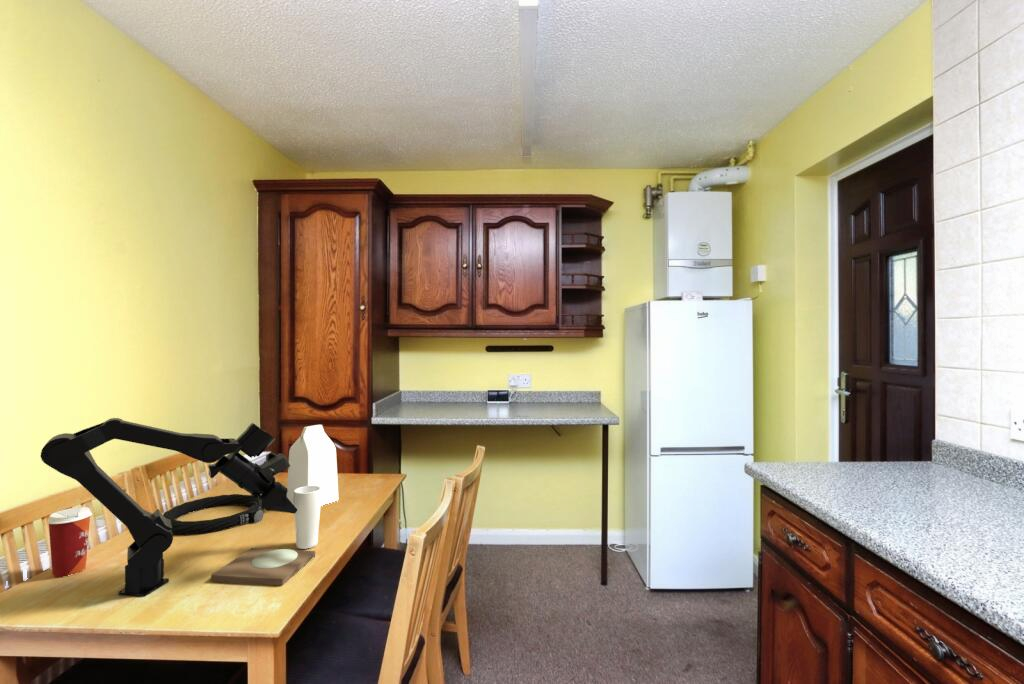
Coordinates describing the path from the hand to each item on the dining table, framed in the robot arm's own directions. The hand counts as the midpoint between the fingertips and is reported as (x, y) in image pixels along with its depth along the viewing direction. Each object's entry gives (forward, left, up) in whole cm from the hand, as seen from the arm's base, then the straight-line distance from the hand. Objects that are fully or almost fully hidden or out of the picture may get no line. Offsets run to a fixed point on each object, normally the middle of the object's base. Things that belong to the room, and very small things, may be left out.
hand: (291, 506), depth 120 cm
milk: (+35, +13, -11) cm, 39 cm away
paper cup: (-16, +45, -11) cm, 49 cm away
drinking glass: (+3, -3, -11) cm, 12 cm away
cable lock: (+19, +35, -12) cm, 42 cm away
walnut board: (-10, 0, -11) cm, 15 cm away
